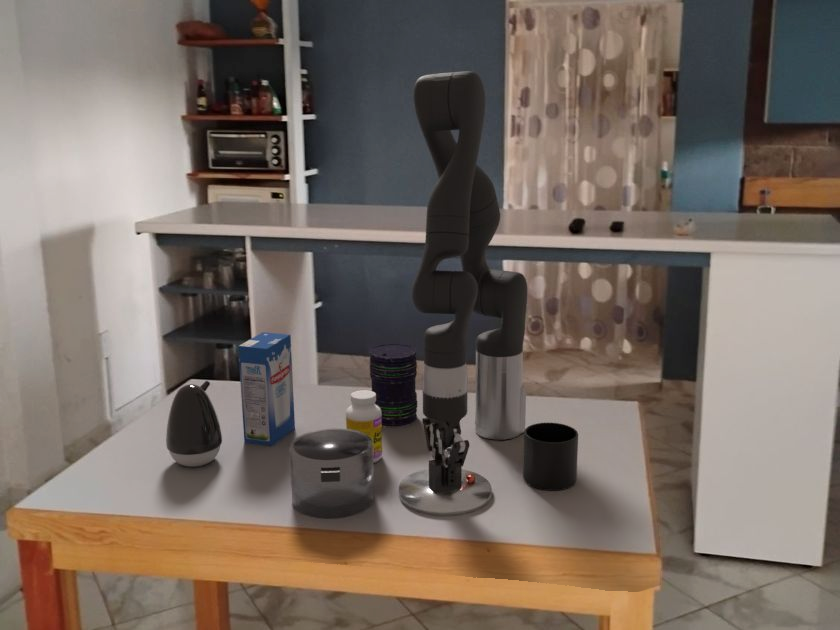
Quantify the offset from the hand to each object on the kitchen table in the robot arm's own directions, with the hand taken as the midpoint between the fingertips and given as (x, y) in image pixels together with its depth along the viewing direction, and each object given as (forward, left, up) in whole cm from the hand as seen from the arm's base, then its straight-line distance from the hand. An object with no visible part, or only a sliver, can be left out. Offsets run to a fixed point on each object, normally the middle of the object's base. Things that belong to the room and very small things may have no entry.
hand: (445, 481), depth 153 cm
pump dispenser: (+36, -33, -2) cm, 49 cm away
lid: (0, 0, -2) cm, 2 cm away
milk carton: (+20, -39, -2) cm, 44 cm away
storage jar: (-6, -36, -2) cm, 36 cm away
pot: (+18, -7, -2) cm, 19 cm away
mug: (-20, +2, -2) cm, 20 cm away
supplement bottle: (+7, -20, -2) cm, 21 cm away
